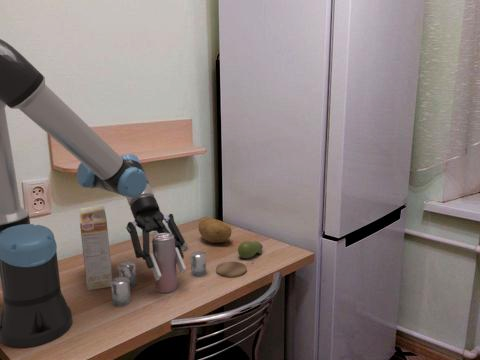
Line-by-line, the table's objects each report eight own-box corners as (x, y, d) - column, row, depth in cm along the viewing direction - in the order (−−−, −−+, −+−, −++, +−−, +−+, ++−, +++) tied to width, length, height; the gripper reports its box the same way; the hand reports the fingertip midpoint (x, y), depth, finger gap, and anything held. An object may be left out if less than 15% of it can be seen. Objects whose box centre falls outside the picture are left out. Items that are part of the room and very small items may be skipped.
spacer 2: (189, 276, 123) (188, 256, 122) (194, 269, 128) (193, 251, 126) (203, 277, 123) (203, 257, 121) (208, 270, 127) (207, 251, 126)
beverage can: (154, 285, 118) (150, 234, 115) (175, 282, 120) (172, 231, 116) (156, 295, 112) (153, 241, 109) (179, 291, 114) (176, 238, 111)
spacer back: (117, 287, 117) (115, 267, 116) (124, 280, 121) (123, 260, 120) (132, 288, 116) (130, 268, 115) (139, 281, 121) (137, 261, 119)
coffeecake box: (85, 269, 129) (79, 208, 125) (110, 266, 131) (104, 205, 127) (86, 291, 115) (79, 222, 111) (113, 286, 118) (107, 219, 114)
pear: (235, 241, 135) (253, 237, 143) (233, 257, 135) (252, 253, 143) (249, 244, 131) (267, 240, 139) (247, 261, 132) (266, 256, 140)
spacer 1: (109, 305, 107) (107, 283, 106) (118, 297, 112) (116, 276, 110) (125, 307, 106) (124, 285, 105) (133, 298, 111) (132, 277, 109)
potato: (219, 250, 142) (218, 227, 141) (192, 240, 152) (191, 219, 150) (239, 242, 149) (239, 221, 147) (212, 233, 159) (212, 213, 157)
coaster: (212, 276, 123) (212, 273, 123) (220, 263, 132) (220, 260, 131) (243, 278, 121) (243, 275, 121) (248, 265, 130) (248, 262, 130)
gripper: (169, 203, 130) (198, 270, 120) (106, 215, 119) (133, 290, 109) (176, 189, 124) (207, 259, 115) (111, 200, 113) (139, 278, 104)
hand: (171, 274), depth 112 cm, fingers open, 6 cm apart
